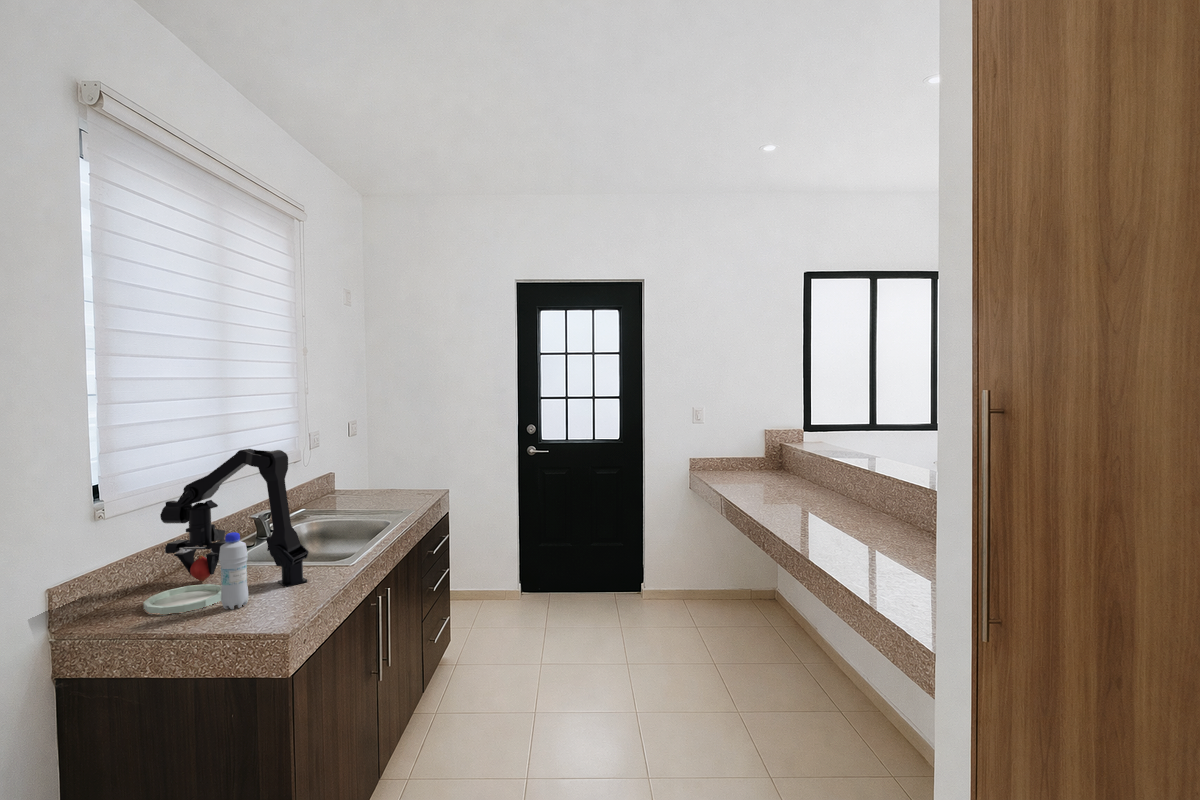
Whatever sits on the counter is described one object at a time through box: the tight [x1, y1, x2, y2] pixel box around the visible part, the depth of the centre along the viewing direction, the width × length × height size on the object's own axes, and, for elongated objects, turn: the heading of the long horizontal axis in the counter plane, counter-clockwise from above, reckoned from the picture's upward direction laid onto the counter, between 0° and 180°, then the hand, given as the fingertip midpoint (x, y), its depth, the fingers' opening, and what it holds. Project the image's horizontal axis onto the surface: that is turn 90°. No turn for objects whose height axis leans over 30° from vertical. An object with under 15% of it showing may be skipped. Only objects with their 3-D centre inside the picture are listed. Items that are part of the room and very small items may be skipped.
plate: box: [143, 583, 222, 614], centre depth 167 cm, size 18×18×2 cm
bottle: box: [218, 531, 249, 610], centre depth 163 cm, size 7×7×20 cm
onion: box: [190, 554, 211, 582], centre depth 185 cm, size 6×6×8 cm
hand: (202, 574), depth 185 cm, fingers closed on onion, 6 cm apart
